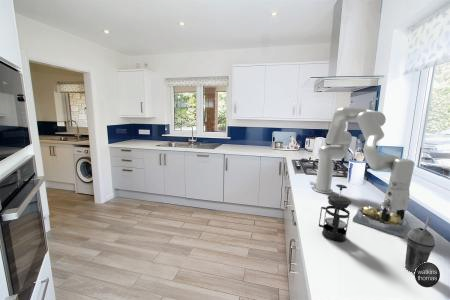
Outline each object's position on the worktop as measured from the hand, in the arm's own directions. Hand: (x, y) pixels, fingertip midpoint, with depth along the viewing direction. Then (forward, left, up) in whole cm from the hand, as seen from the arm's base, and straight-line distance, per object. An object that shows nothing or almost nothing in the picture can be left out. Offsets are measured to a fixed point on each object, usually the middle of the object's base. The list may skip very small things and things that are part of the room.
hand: (391, 219), depth 104 cm
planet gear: (0, 0, -3) cm, 3 cm away
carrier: (-5, +3, -4) cm, 7 cm away
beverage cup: (+9, -31, -4) cm, 33 cm away
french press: (-18, -29, -4) cm, 34 cm away
